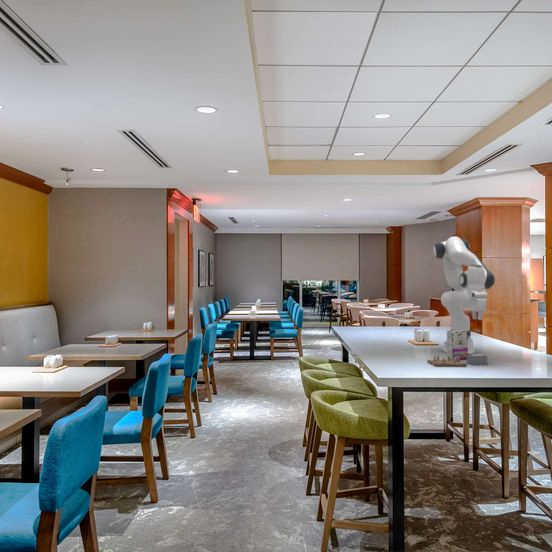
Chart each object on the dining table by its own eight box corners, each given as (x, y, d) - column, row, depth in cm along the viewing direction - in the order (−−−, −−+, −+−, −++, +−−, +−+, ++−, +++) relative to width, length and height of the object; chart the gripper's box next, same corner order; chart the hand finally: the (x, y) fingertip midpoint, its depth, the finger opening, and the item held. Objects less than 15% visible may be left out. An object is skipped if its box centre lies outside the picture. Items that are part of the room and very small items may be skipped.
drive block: (466, 363, 256) (466, 354, 256) (483, 363, 257) (483, 354, 257) (471, 365, 251) (470, 355, 251) (487, 365, 252) (487, 355, 252)
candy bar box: (461, 358, 275) (461, 329, 276) (468, 359, 271) (467, 330, 271) (446, 359, 271) (446, 330, 271) (452, 360, 266) (452, 331, 267)
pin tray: (427, 362, 260) (427, 354, 260) (456, 362, 260) (456, 354, 260) (436, 366, 246) (436, 358, 246) (466, 366, 246) (466, 358, 246)
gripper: (465, 294, 267) (466, 318, 266) (476, 294, 247) (476, 320, 246) (477, 294, 266) (477, 318, 265) (488, 293, 246) (489, 320, 245)
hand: (477, 319), depth 255 cm, fingers open, 8 cm apart
